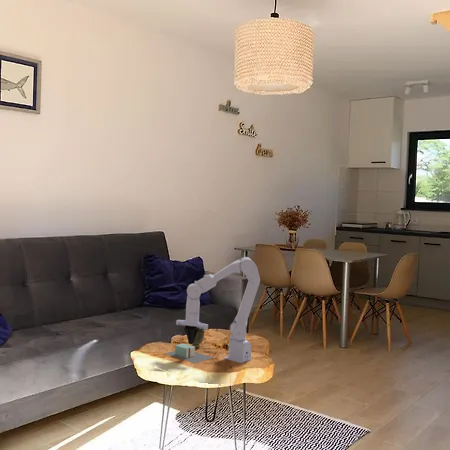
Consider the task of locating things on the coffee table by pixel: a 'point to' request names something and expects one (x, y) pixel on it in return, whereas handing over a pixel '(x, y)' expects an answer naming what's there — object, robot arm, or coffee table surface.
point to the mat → (194, 359)
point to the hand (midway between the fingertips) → (191, 343)
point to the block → (184, 350)
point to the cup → (198, 338)
